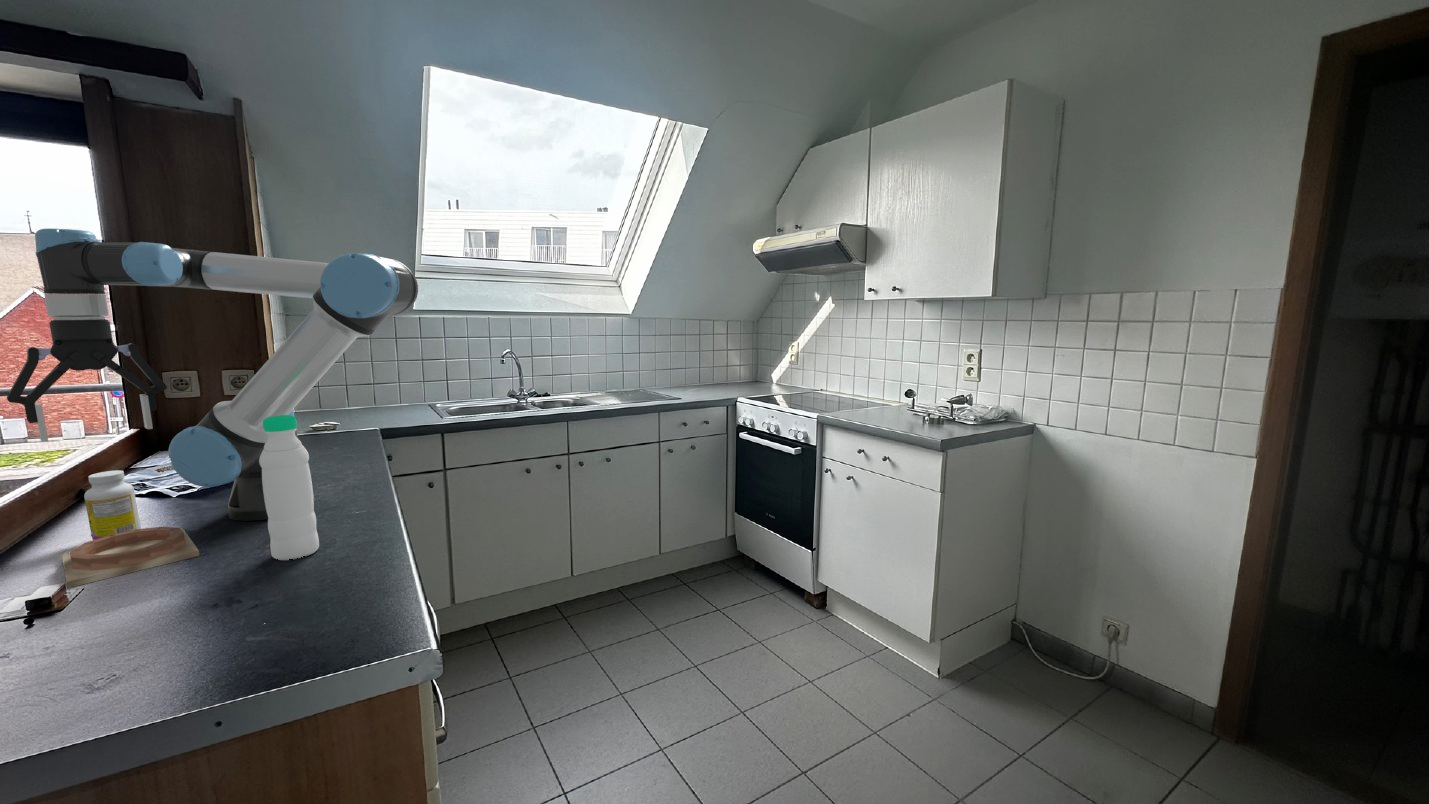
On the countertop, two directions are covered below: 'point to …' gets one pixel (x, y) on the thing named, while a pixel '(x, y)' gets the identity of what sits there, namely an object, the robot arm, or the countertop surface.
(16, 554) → the countertop surface
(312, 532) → the water bottle
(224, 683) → the countertop surface
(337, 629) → the countertop surface
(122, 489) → the supplement bottle
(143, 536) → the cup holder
